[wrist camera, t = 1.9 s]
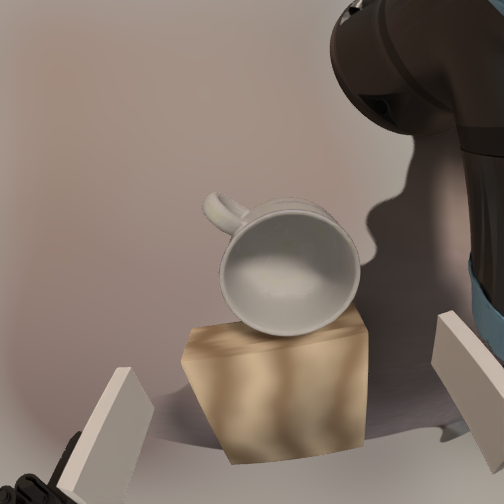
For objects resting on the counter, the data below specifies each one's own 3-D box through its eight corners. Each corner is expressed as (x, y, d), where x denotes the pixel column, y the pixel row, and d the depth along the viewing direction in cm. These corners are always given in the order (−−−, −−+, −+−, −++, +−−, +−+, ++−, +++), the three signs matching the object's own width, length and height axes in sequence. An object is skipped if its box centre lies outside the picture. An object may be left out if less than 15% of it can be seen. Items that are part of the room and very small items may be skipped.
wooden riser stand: (352, 300, 32) (368, 331, 26) (355, 415, 39) (363, 446, 33) (192, 328, 34) (180, 361, 28) (234, 433, 40) (231, 464, 35)
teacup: (357, 256, 30) (384, 292, 23) (271, 313, 33) (273, 360, 25) (276, 141, 27) (282, 140, 19) (185, 210, 29) (160, 235, 22)
